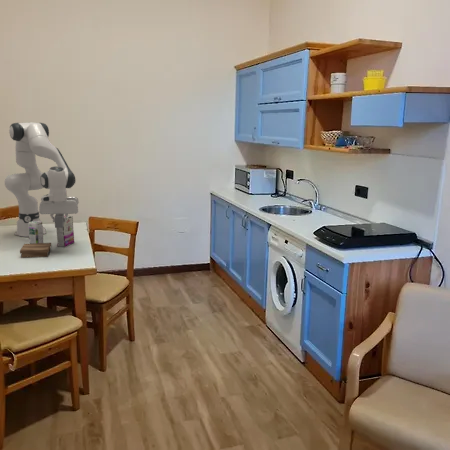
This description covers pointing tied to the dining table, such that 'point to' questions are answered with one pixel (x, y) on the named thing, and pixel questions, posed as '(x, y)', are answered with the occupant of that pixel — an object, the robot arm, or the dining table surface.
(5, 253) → the dining table surface
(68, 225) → the candy bar box
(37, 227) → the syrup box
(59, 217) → the block
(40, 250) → the wooden stand
